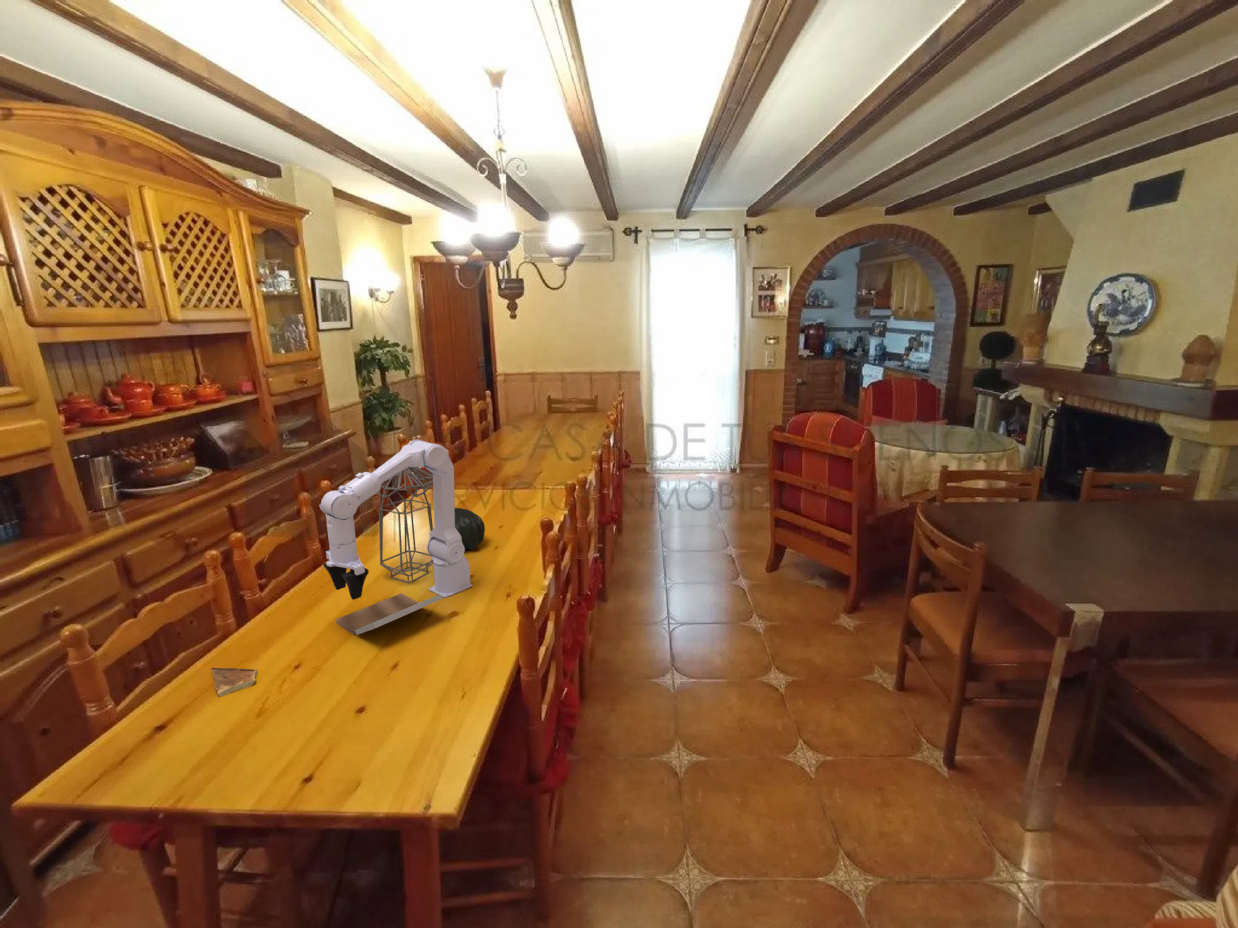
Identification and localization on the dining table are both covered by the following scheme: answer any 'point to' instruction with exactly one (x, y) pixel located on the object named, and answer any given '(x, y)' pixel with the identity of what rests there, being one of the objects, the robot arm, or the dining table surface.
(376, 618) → the walnut board
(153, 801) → the dining table surface
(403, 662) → the dining table surface
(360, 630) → the grey plank
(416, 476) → the geometric lantern
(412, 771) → the dining table surface
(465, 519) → the squash
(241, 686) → the shard
